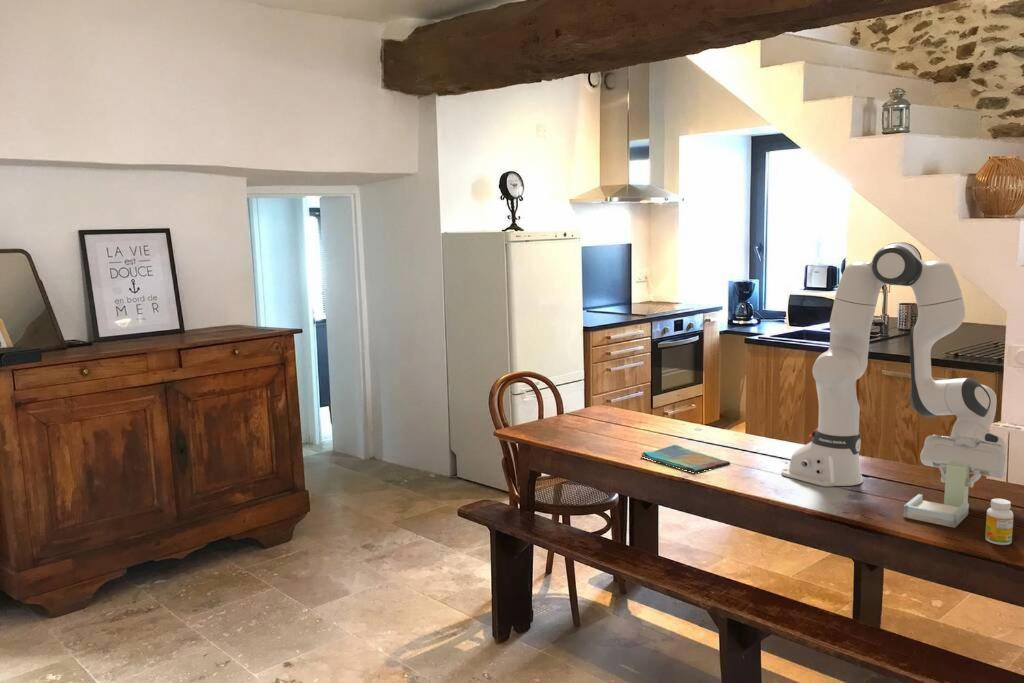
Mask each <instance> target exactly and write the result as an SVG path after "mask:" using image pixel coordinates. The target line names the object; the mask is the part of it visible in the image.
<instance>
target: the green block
mask: <svg viewBox="0 0 1024 683" xmlns="http://www.w3.org/2000/svg"><path fill="white" fill-rule="evenodd" d="M969 465H970V464H965V463H958V462H952V461H950V462H949V463H948V464H947V465H946V472H945V474H946V478H945V484H944V496H943V497H944V498H943V499H944V500H943V504H944V505H950V506H955V507H960V506H961V505H962V504H964V503H969V502H968V501H969V500H968V499H969V488H970V487H966V480H967V478H970V473H969V472H970V468H969Z"/></svg>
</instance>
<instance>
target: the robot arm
mask: <svg viewBox="0 0 1024 683" xmlns="http://www.w3.org/2000/svg"><path fill="white" fill-rule="evenodd" d="M885 284H886V285H890V286H903V287H904V286H905V287H910V288H911V289H912V291H913V294H914V297H915V302H916V305H917V319H916V322H915V324H914V325H913V326H912V327H911V329H910V334H909V357H910V359H909V360H910V361H909V364H910V381H911V382H910V390H909V403H910V406H911V407H912V409H913V410H914V411H915V412H916V413H917V414H918V415H920V416H922V417H924V418H932V417H940V416H952V415H953V416H956V418H957V419H956V420H955V422H954V423H953V426H952V430H951V432H950V436H947V435H938V434H932V435H928V436H926V438H925V440H924V442H923V445H924V446H923V447H922V449H921V452H920V454H919V458H920V461H921V464H923V465H924V466H926V467H933V468H939V471H940V474H941V476H940V481H941V483H943V484H944V483H945V478H946V465H947V464H948V463H949V462H950V461H952V462H958V463H965V464H970V465H969V468H970V472H969V474H973V475H972V476H971V477H969V478H967V480H966V487H969V488H974V484H975V483H976V482H977V481H978V480H979V479H981V477H982V476H985V477H991V478H997V479H1003V478H1004V477H1005V476H1006V474H1007V469H1008V460H1007V455H1006V454H1007V446H1006V443H1005V441H1004V438H1003V437H1001V436H999V435H997V434H993V433H991V427H992V425H993V424H994V420H995V417H996V412H997V404H998V403H997V401H998V400H997V394H996V392H995V391H994V390H993V388H991V387H989V386H987V385H985V384H982V383H980V382H978V380H976V379H974V378H972V377H959V378H957V377H956V378H950V379H940V380H939V379H938V380H935V379H933V376H932V359H931V358H932V356H931V354H932V347H933V346H934V345H935V343H936V342H938V341H939V340H941V339H942V338H944V337H946V336H948V335H950V334H952V333H953V332H955V331H956V330H957V329H958V328H959V327H960V326H961V325H962V323H963V322H964V320H965V318H966V308H965V303H964V298H963V293H962V290H961V286H960V283H959V280H958V278H957V275H956V272H955V271H954V269H953V267H952V265H951V264H950V263H948V262H946V261H943V260H930V261H925V260H923V258H922V254H921V252H920V250H919V249H918V248H917V247H916V246H914V245H913V244H911V243H908V242H905V241H904V242H902V241H900V242H892V243H888V244H887V245H885V246H883V247H882V248H880V249H878V250H877V251H876V253H874V256H873V258H872V260H871V261H854V262H851V263H849V264H848V265H846V266H845V268H844V270H843V272H842V275H841V277H840V279H839V283H838V285H837V288H836V293H835V297H834V300H833V305H832V310H831V313H830V314H831V315H830V318H829V338H830V339H829V344H828V345H829V346H828V349H827V350H826V351H823V353H821V354H820V355H818V357H817V358H816V360H814V361H815V362H814V364H813V366H812V368H811V369H812V371H811V372H812V373H811V374H812V377H813V379H814V381H815V388H816V394H817V399H818V419H817V420H818V421H817V422H818V424H817V427H816V428H815V429H814V430H813V431H811V433H809V438H811V441H810V442H808V443H806V444H805V445H803V446H801V447H800V448H799V449H797V450H796V451H794V453H793V454H792V455H791V457H790V462H789V464H788V465H786V466H785V467H783V468H782V469H781V476H784V477H787V478H792V479H794V480H800V481H802V482H806V483H810V484H813V485H818V486H821V487H827V488H828V487H835V486H836V487H838V486H839V487H840V486H841V487H847V486H849V487H850V486H855V485H856V486H857V485H860V484H862V483H863V482H864V479H863V476H862V471H861V464H860V451H861V443H862V442H861V433H860V415H861V414H860V413H861V411H860V409H861V407H860V404H859V400H858V396H857V394H858V393H857V386H856V384H857V380H859V379H860V378H861V377H862V376H864V374H865V372H866V370H867V367H868V363H869V361H868V358H869V350H870V349H869V348H870V336H871V330H872V325H873V321H874V316H875V312H876V307H877V304H878V299H879V295H880V291H881V289H882V288H883V286H884V285H885Z"/></svg>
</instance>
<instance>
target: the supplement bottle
mask: <svg viewBox="0 0 1024 683" xmlns="http://www.w3.org/2000/svg"><path fill="white" fill-rule="evenodd" d="M1011 504H1012V502H1011V501H1010V500H1007V499H1004V498H992V499H990V507H989V508H988V509H987V510H986V519H985V520H986V522H985V533H984V534H985V537H984V538H985V541H987V542H989V543H991V544H995V545H1000V546H1007V545H1011V544H1012V542H1013V528H1014V513H1013V511H1012V510H1010V509H1011V507H1012V506H1011Z"/></svg>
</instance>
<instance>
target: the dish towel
mask: <svg viewBox="0 0 1024 683" xmlns="http://www.w3.org/2000/svg"><path fill="white" fill-rule="evenodd" d="M641 456H642V457H645V458H648V459H651V460H653V461H656V462H660V463H663V464H662V465H664V464H667V465H670V466H674V467H677V468H680V469H683V470H687V471H691V472H694V473H697V474H699V473H698V472H701V473H703V472H702V471H704V470H709V469H712V470H715V469H714V468H716V469H719V467H720V468H723V467H722V466H724V467H726V466H725V465H727V466H730V465H729V464H731V462H730V461H728V460H724V459H720V458H718V457H714V456H712V455H708V454H705V453H701V452H697V451H693V450H691V449H687V448H685V447H682V446H680V445H678V444H672V445H669V446H667V447H664V448H659V449H657V450H654V451H653V450H652V451H643V452H642V453H641ZM656 462H655V463H656ZM660 463H659V464H660ZM667 465H666V466H667ZM670 466H669V467H670ZM677 468H676V469H677ZM680 469H679V470H680ZM683 470H682V471H683ZM687 471H686V472H687ZM709 471H710V470H709ZM694 473H693V474H694Z"/></svg>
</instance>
